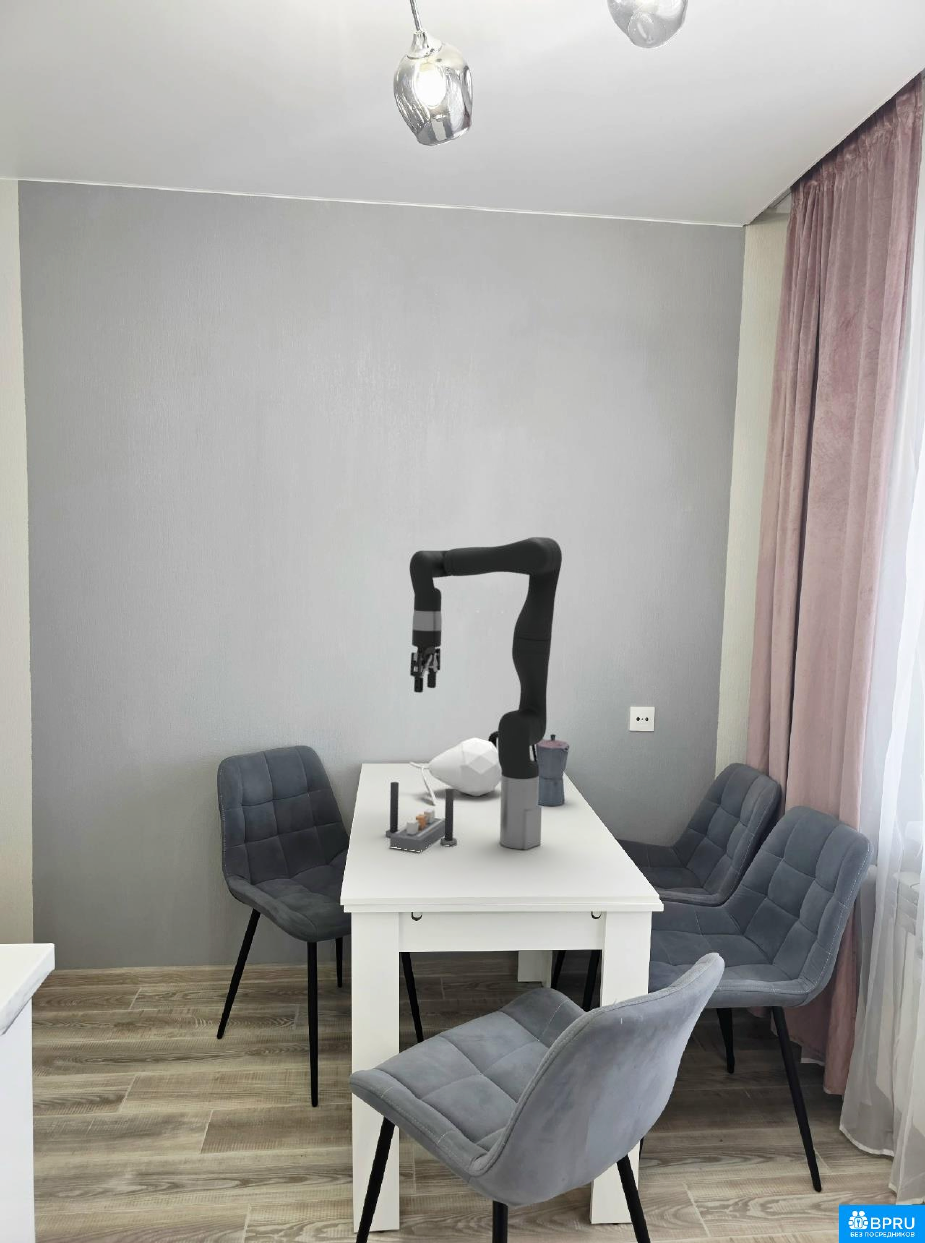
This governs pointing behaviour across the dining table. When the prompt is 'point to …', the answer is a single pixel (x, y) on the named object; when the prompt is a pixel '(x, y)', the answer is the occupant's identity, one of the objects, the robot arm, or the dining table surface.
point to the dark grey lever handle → (393, 809)
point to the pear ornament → (466, 768)
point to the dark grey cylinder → (449, 819)
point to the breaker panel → (419, 836)
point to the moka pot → (551, 770)
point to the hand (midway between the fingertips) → (425, 690)
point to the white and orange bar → (420, 821)
